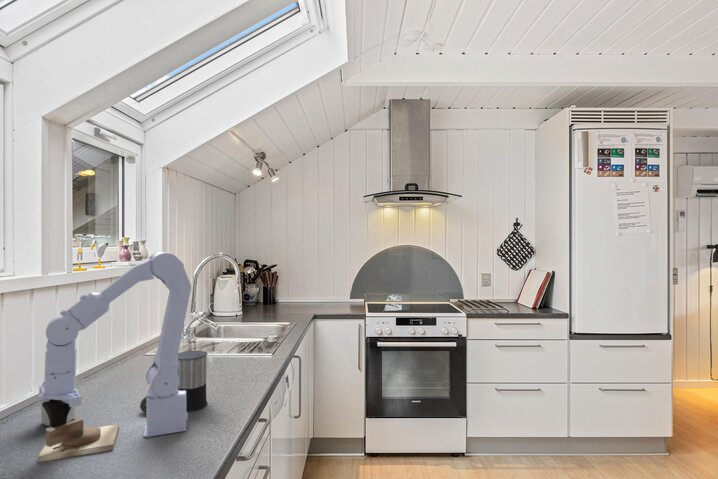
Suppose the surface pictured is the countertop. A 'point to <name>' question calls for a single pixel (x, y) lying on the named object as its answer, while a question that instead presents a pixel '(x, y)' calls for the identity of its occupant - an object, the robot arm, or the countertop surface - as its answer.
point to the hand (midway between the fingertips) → (58, 432)
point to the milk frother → (191, 379)
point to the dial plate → (82, 446)
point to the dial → (72, 434)
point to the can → (45, 417)
